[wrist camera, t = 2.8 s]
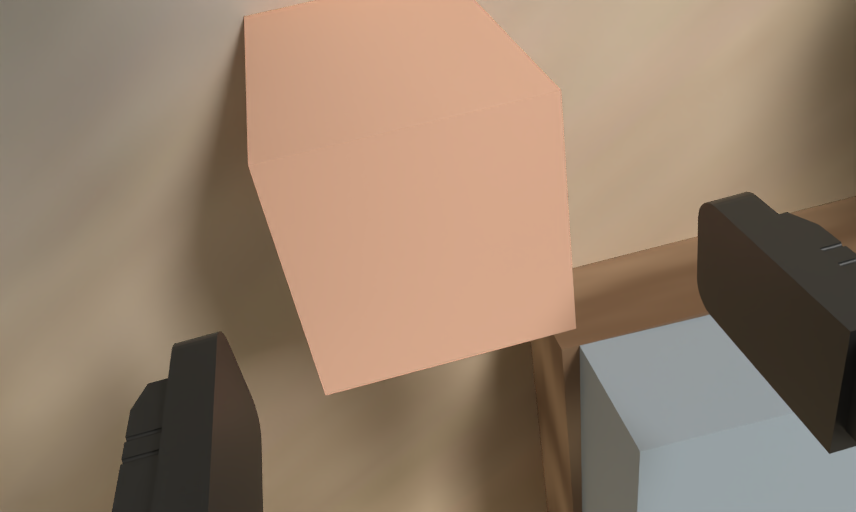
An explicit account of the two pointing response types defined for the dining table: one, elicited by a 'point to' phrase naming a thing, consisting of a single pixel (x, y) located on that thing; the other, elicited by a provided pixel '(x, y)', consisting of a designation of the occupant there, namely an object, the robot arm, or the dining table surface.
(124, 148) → the dining table surface
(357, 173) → the terracotta block
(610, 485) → the tower top
